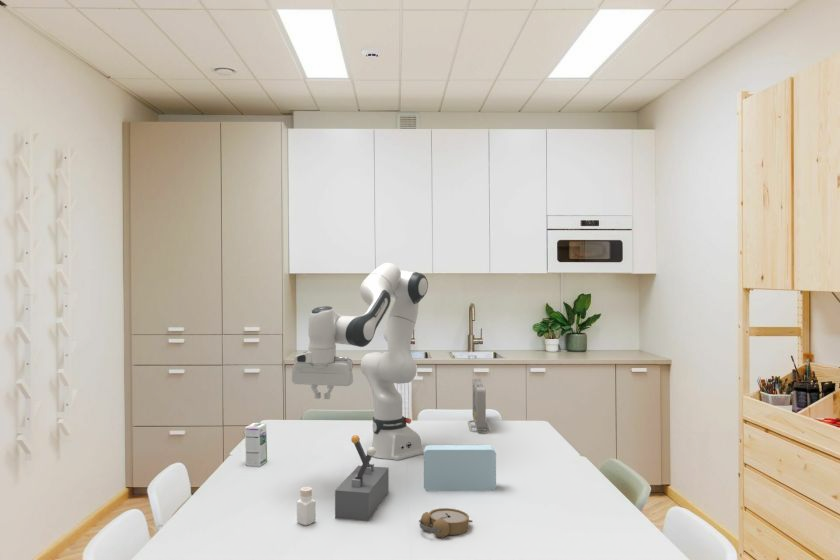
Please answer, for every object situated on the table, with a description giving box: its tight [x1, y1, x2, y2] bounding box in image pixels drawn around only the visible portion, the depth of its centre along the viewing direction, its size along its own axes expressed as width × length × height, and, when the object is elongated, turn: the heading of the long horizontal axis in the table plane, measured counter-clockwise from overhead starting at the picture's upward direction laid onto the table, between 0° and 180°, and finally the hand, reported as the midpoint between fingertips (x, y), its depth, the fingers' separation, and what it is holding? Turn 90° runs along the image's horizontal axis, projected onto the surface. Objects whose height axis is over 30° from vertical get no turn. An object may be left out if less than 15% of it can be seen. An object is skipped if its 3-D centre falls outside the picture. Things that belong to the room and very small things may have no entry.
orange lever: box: [351, 434, 371, 467], centre depth 183 cm, size 3×3×12 cm
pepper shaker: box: [296, 486, 317, 526], centre depth 165 cm, size 4×4×10 cm
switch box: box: [334, 463, 390, 522], centre depth 177 cm, size 10×22×10 cm, turn 168°
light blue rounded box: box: [423, 444, 497, 492], centre depth 191 cm, size 23×6×13 cm, turn 90°
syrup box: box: [244, 422, 268, 467], centre depth 215 cm, size 6×6×14 cm
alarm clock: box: [418, 507, 473, 538], centre depth 160 cm, size 11×5×15 cm
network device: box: [467, 378, 490, 433], centre depth 267 cm, size 26×9×20 cm, turn 179°
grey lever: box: [356, 446, 376, 481], centre depth 171 cm, size 3×3×12 cm
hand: (322, 398), depth 192 cm, fingers closed
